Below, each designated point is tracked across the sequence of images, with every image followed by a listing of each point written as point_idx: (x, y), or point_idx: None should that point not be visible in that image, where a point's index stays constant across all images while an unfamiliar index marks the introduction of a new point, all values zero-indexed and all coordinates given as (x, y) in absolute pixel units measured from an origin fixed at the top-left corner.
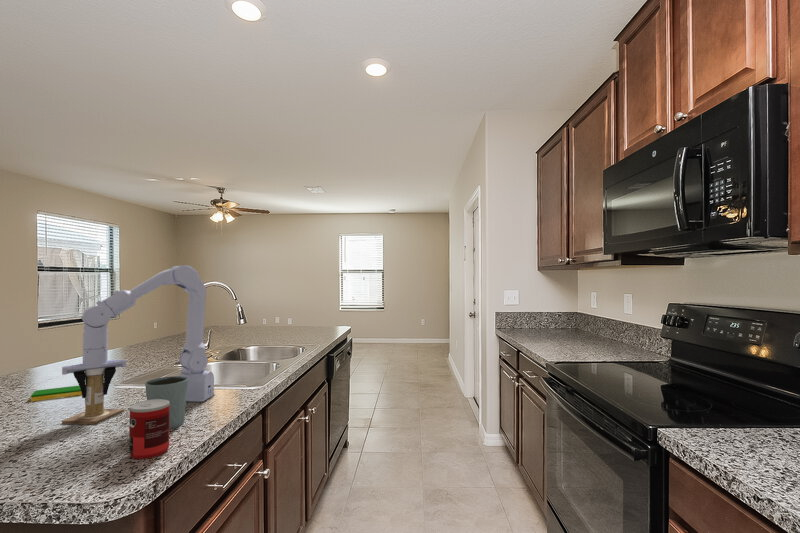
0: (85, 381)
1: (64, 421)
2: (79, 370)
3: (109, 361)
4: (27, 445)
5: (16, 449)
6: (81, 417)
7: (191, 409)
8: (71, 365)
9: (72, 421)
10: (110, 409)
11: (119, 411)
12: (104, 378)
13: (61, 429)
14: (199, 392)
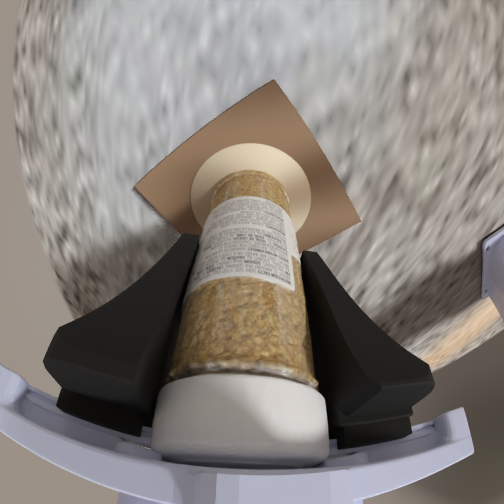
0: (176, 343)
1: (143, 193)
2: (109, 436)
3: (406, 475)
4: (88, 298)
5: (76, 303)
6: (199, 205)
7: (433, 325)
8: (22, 445)
9: (167, 219)
10: (328, 176)
11: (336, 234)
12: (321, 347)
13: (139, 245)
14: (498, 302)
